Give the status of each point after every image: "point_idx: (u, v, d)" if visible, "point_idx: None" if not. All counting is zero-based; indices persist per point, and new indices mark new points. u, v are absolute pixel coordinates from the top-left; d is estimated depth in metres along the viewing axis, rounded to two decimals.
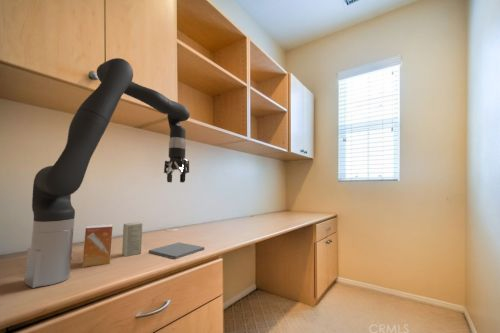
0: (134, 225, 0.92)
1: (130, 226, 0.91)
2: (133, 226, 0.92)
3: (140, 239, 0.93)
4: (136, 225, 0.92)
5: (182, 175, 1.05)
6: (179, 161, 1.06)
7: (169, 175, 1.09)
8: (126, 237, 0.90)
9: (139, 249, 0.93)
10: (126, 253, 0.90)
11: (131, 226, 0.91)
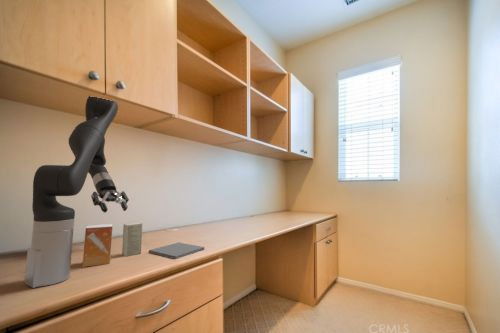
0: (134, 225, 0.92)
1: (130, 226, 0.91)
2: (133, 226, 0.92)
3: (140, 239, 0.93)
4: (136, 225, 0.92)
5: (125, 203, 1.06)
6: (116, 192, 1.07)
7: None
8: (126, 237, 0.90)
9: (139, 249, 0.93)
10: (126, 253, 0.90)
11: (131, 226, 0.91)
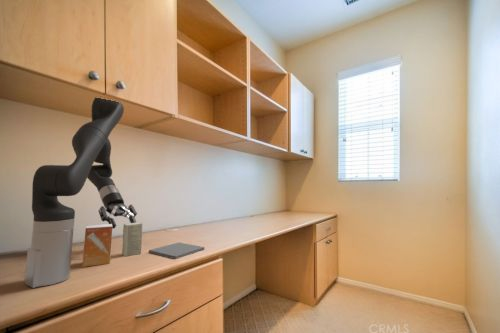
0: (134, 225, 0.92)
1: (130, 226, 0.91)
2: (133, 226, 0.92)
3: (140, 239, 0.93)
4: (136, 225, 0.92)
5: (133, 217, 1.02)
6: (124, 206, 1.03)
7: None
8: (126, 237, 0.90)
9: (139, 249, 0.93)
10: (126, 253, 0.90)
11: (131, 226, 0.91)
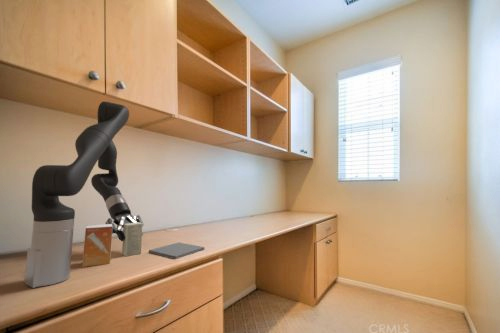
0: (134, 225, 0.92)
1: (130, 226, 0.91)
2: (133, 226, 0.92)
3: (140, 239, 0.93)
4: (136, 225, 0.92)
5: None
6: (131, 216, 1.00)
7: None
8: (126, 237, 0.90)
9: (139, 249, 0.93)
10: (126, 253, 0.90)
11: (131, 226, 0.91)
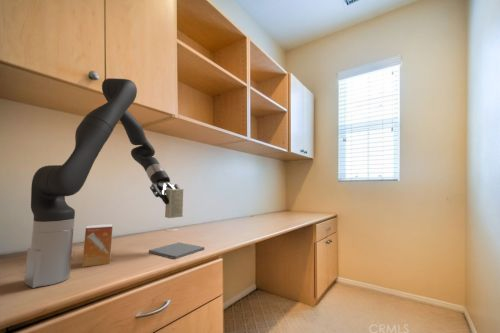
0: (176, 190, 0.98)
1: (173, 190, 0.97)
2: (176, 191, 0.98)
3: (181, 203, 1.00)
4: (178, 190, 0.99)
5: None
6: (170, 184, 1.06)
7: None
8: (170, 200, 0.96)
9: (181, 213, 0.99)
10: (170, 215, 0.96)
11: (174, 190, 0.98)
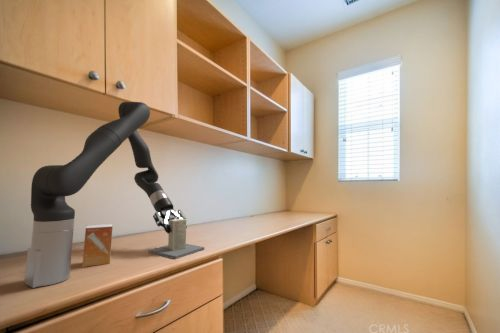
0: (180, 221, 0.97)
1: (176, 222, 0.96)
2: (179, 222, 0.97)
3: (185, 234, 0.99)
4: (181, 221, 0.98)
5: None
6: (174, 211, 1.05)
7: None
8: (173, 232, 0.95)
9: (184, 244, 0.98)
10: (173, 247, 0.95)
11: (177, 222, 0.96)
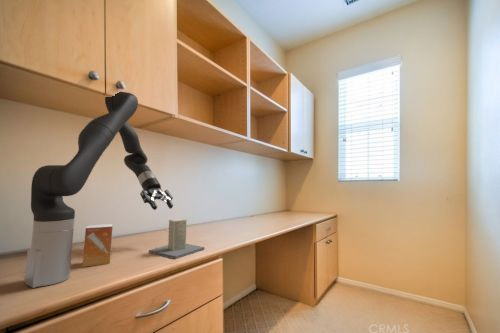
0: (180, 221, 0.97)
1: (176, 222, 0.96)
2: (179, 222, 0.97)
3: (185, 234, 0.99)
4: (181, 221, 0.98)
5: (170, 201, 1.09)
6: (161, 190, 1.10)
7: None
8: (173, 232, 0.95)
9: (184, 244, 0.98)
10: (173, 247, 0.95)
11: (177, 222, 0.96)
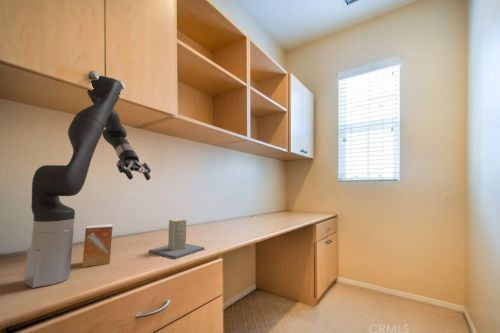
0: (180, 221, 0.97)
1: (176, 222, 0.96)
2: (179, 222, 0.97)
3: (185, 234, 0.99)
4: (181, 221, 0.98)
5: (148, 173, 1.09)
6: (139, 163, 1.10)
7: None
8: (173, 232, 0.95)
9: (184, 244, 0.98)
10: (173, 247, 0.95)
11: (177, 222, 0.96)
